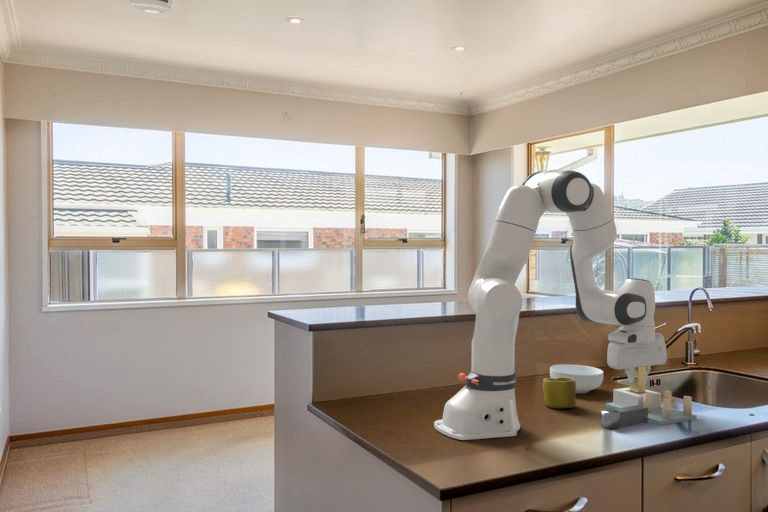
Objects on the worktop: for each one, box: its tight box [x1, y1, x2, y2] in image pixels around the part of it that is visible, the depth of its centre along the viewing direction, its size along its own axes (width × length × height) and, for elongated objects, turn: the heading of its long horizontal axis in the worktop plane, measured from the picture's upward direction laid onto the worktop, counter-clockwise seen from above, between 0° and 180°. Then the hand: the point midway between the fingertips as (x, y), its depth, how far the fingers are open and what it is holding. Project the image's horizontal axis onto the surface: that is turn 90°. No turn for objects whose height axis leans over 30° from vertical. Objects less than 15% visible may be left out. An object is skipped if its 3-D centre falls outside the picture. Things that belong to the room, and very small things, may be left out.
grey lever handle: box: [600, 405, 649, 430], centre depth 155 cm, size 14×5×4 cm, turn 115°
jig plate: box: [604, 386, 698, 426], centre depth 166 cm, size 14×19×6 cm
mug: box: [542, 377, 577, 409], centre depth 173 cm, size 12×10×10 cm
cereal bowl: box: [549, 363, 604, 394], centre depth 191 cm, size 17×17×7 cm
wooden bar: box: [629, 366, 647, 394], centre depth 170 cm, size 3×3×8 cm
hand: (637, 381), depth 170 cm, fingers closed on wooden bar, 3 cm apart
